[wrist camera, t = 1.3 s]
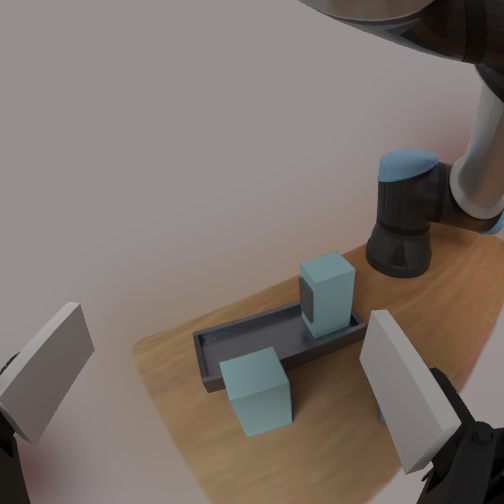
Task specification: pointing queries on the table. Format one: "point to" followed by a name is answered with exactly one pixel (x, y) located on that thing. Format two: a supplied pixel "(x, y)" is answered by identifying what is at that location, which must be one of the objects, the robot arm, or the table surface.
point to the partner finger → (326, 293)
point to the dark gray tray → (268, 341)
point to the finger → (259, 391)
